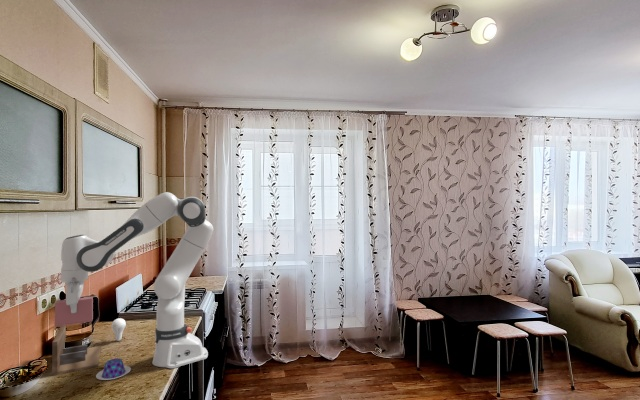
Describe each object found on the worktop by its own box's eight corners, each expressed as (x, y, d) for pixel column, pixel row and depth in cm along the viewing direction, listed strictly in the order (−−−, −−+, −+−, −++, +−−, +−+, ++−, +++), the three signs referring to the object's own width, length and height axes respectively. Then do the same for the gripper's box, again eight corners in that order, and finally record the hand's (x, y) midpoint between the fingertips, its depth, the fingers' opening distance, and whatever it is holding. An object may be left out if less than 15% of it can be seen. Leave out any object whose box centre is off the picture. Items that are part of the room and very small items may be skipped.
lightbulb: (109, 343, 170) (109, 321, 170) (113, 339, 176) (113, 317, 176) (123, 342, 171) (123, 319, 172) (127, 338, 177) (127, 316, 177)
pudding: (94, 384, 132) (95, 370, 132) (96, 371, 142) (97, 358, 142) (131, 376, 137) (131, 363, 138) (130, 364, 148) (130, 352, 148)
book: (92, 318, 144) (92, 296, 144) (92, 321, 141) (92, 298, 141) (56, 323, 138) (56, 300, 138) (54, 326, 135) (55, 303, 135)
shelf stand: (101, 348, 165) (101, 320, 165) (98, 366, 146) (98, 335, 146) (59, 355, 157) (59, 326, 157) (50, 376, 138) (50, 342, 138)
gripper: (81, 279, 132) (81, 316, 132) (86, 271, 150) (86, 303, 150) (61, 281, 129) (61, 319, 129) (68, 272, 147) (68, 305, 147)
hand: (74, 310), depth 140 cm, fingers closed on book, 4 cm apart
